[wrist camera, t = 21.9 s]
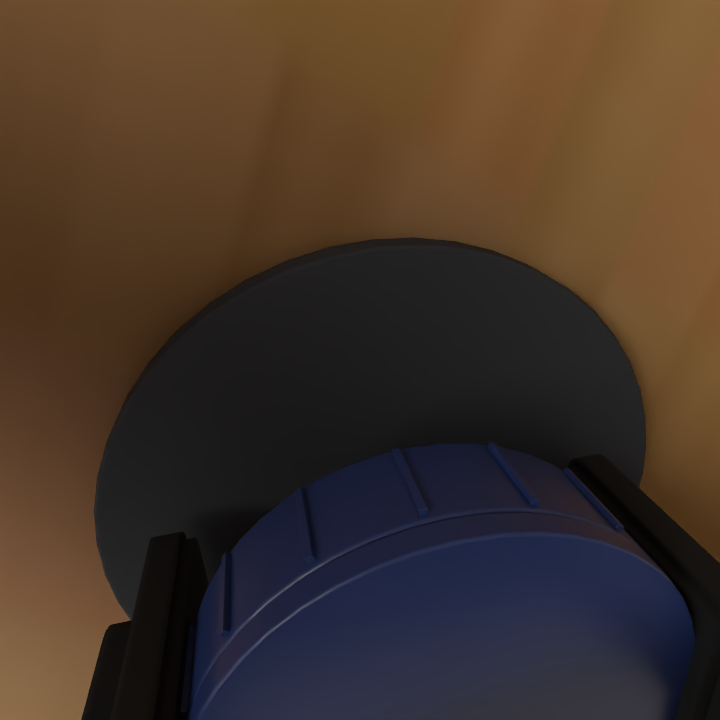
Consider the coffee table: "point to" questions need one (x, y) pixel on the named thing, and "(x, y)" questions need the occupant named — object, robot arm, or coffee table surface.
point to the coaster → (354, 389)
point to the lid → (439, 601)
